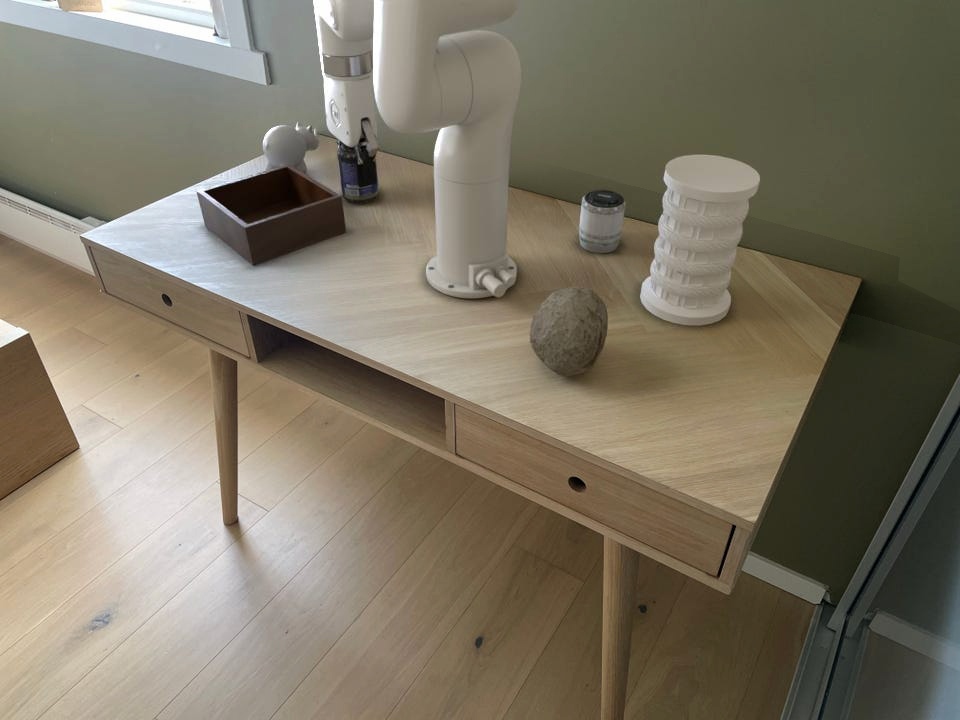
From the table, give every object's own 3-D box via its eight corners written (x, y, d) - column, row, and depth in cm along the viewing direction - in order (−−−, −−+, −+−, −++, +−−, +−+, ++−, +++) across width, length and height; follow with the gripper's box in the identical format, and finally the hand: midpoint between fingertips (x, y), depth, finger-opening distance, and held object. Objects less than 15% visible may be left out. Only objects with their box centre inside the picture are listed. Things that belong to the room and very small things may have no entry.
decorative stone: (548, 333, 89) (553, 263, 83) (613, 352, 86) (624, 281, 80) (513, 379, 82) (517, 306, 76) (583, 401, 79) (592, 328, 73)
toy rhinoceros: (336, 163, 131) (330, 116, 125) (289, 186, 123) (281, 137, 117) (306, 154, 134) (300, 108, 128) (259, 176, 126) (250, 128, 120)
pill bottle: (386, 198, 119) (381, 133, 112) (354, 208, 116) (347, 142, 109) (366, 186, 123) (360, 122, 116) (335, 195, 120) (327, 130, 113)
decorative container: (641, 321, 91) (664, 189, 80) (638, 274, 100) (659, 150, 89) (734, 329, 90) (771, 196, 79) (723, 281, 99) (755, 156, 88)
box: (346, 232, 110) (342, 195, 106) (253, 266, 102) (244, 228, 98) (294, 198, 119) (289, 163, 115) (205, 227, 111) (196, 190, 107)
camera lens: (583, 231, 111) (588, 183, 106) (623, 238, 109) (630, 190, 104) (572, 250, 106) (577, 200, 101) (614, 257, 104) (622, 208, 99)
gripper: (302, 52, 111) (317, 164, 122) (346, 82, 99) (359, 202, 110) (347, 46, 114) (358, 155, 125) (395, 74, 102) (402, 192, 113)
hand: (358, 176), depth 117 cm, fingers closed on pill bottle, 6 cm apart
